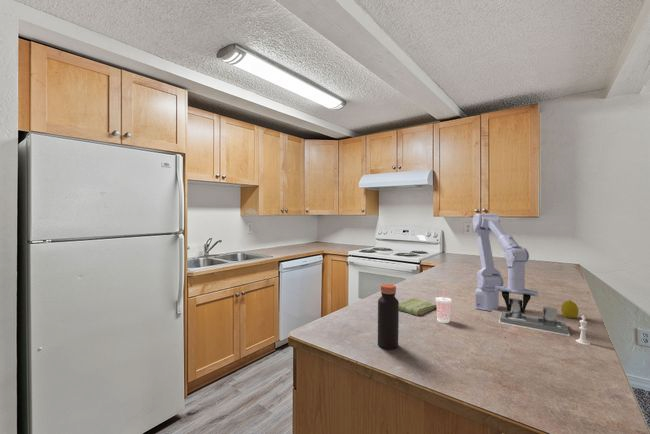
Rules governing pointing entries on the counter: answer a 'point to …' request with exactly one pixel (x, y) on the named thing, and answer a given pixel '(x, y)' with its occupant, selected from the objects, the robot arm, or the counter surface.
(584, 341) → the chess piece
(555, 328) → the grey rectangular tray
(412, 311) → the washcloth
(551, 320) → the cylinder
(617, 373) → the counter surface
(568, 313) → the lemon
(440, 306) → the beverage cup
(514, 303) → the cylinder
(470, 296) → the counter surface
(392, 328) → the bottle
